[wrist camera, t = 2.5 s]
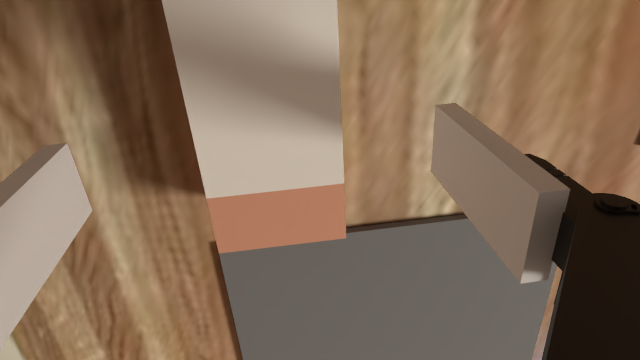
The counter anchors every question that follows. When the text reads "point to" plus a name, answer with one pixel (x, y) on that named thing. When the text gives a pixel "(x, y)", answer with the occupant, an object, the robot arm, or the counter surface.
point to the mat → (385, 297)
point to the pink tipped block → (264, 116)
